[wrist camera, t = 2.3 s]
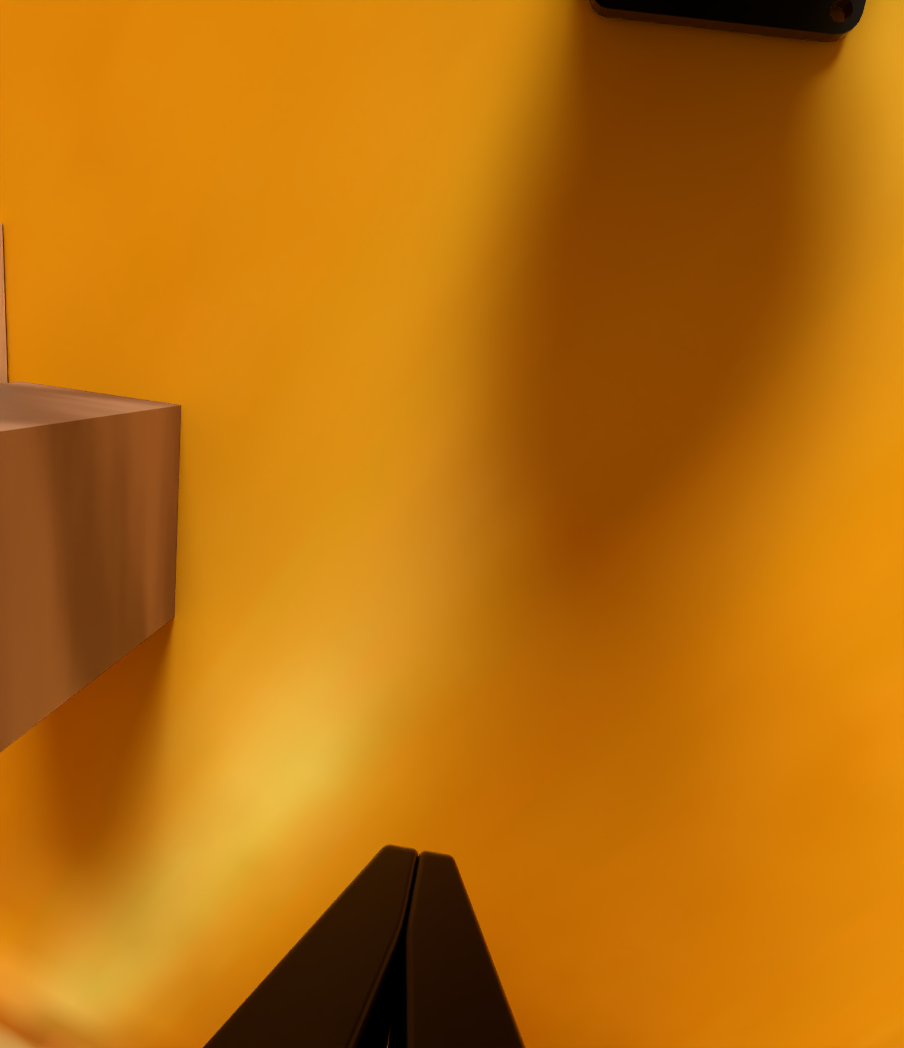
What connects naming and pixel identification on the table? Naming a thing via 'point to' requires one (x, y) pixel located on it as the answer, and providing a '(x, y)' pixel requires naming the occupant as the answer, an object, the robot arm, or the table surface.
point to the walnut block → (80, 539)
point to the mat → (2, 317)
